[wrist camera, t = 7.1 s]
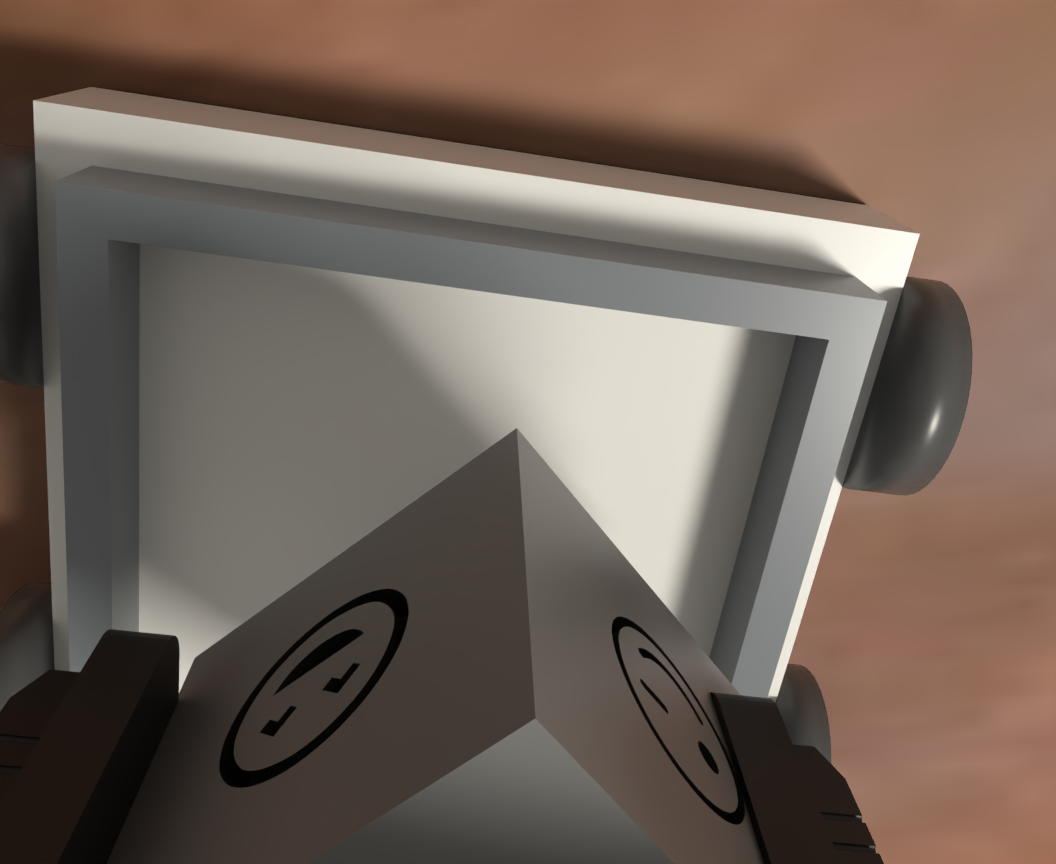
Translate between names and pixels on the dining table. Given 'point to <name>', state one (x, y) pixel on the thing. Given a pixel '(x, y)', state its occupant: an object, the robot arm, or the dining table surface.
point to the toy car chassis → (442, 367)
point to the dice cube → (453, 704)
